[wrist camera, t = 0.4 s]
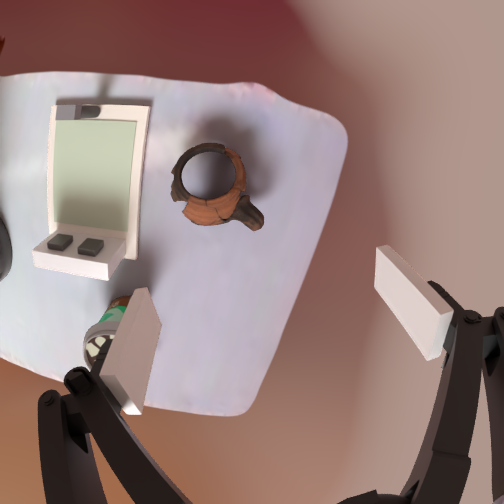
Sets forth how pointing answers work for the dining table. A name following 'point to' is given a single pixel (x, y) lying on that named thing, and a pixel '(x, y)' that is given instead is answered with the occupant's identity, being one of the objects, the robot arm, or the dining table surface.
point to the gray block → (77, 112)
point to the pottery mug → (220, 207)
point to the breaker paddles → (86, 248)
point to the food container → (104, 329)
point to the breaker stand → (95, 188)
